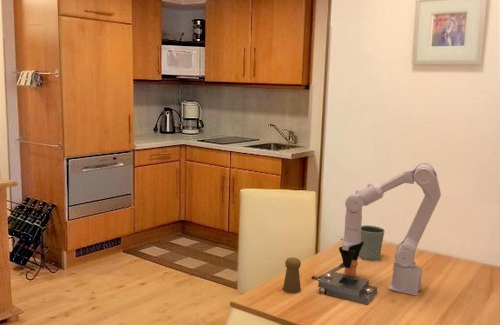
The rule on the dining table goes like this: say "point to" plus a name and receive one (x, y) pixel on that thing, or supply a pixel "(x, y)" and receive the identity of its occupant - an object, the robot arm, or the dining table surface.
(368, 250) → the green cup
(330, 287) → the link upper
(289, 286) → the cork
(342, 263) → the tomahawk
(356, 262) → the pin
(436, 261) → the dining table surface
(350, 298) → the link lower
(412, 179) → the robot arm
